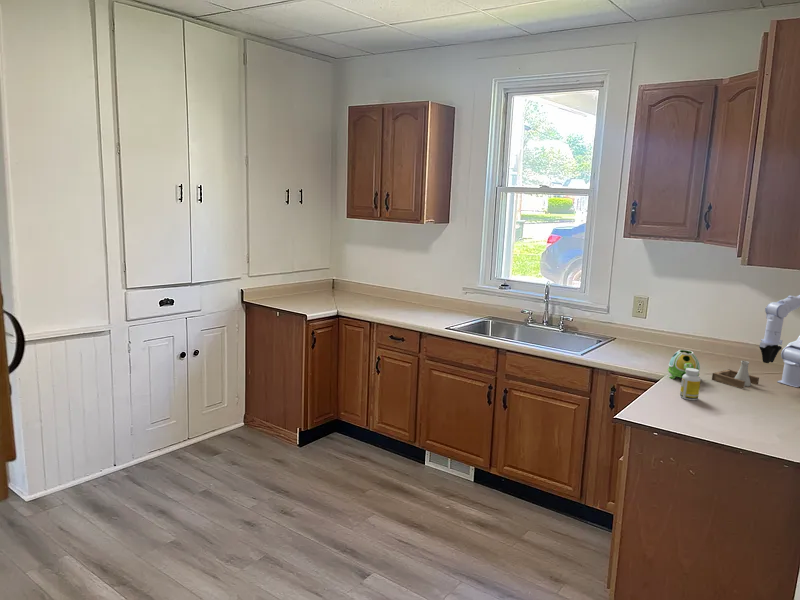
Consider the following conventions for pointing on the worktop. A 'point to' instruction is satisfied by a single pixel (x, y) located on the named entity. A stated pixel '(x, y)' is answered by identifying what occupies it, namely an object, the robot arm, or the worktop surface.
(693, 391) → the pill bottle
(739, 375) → the flask
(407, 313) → the worktop surface
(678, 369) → the turtle holder
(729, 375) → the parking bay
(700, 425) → the worktop surface
